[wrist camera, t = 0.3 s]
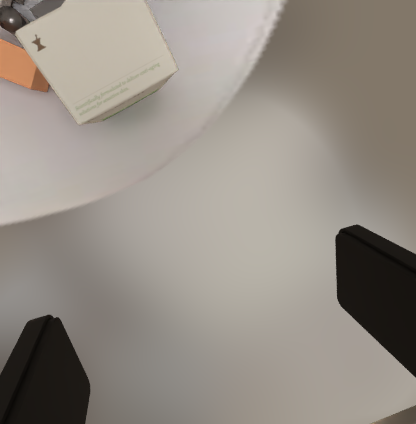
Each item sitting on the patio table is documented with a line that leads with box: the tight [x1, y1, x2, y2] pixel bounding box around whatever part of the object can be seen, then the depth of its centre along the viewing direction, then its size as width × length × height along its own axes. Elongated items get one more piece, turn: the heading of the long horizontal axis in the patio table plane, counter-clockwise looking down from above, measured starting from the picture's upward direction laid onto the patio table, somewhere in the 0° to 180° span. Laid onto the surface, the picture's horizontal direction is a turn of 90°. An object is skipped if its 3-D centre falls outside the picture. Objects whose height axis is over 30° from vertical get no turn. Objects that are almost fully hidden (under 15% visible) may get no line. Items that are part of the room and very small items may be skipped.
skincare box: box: [15, 0, 178, 125], centre depth 26 cm, size 8×7×16 cm
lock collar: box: [0, 39, 49, 92], centre depth 28 cm, size 3×7×5 cm, turn 67°
